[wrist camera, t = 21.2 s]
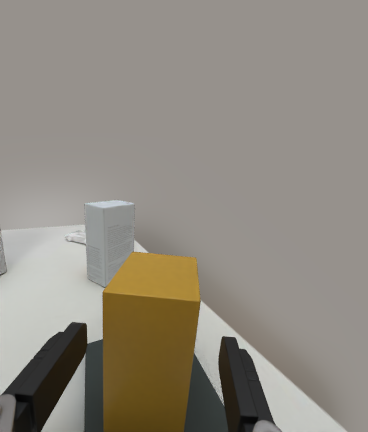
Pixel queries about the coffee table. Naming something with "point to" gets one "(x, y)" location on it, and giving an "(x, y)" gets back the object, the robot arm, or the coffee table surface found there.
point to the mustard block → (149, 343)
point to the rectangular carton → (2, 257)
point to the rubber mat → (196, 406)
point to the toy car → (77, 236)
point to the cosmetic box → (108, 238)
